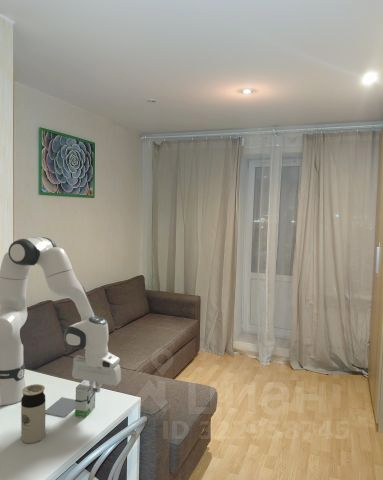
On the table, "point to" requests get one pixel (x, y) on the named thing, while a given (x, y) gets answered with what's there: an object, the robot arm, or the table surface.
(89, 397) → the ink box
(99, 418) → the table surface
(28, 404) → the travel mug
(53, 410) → the mat
